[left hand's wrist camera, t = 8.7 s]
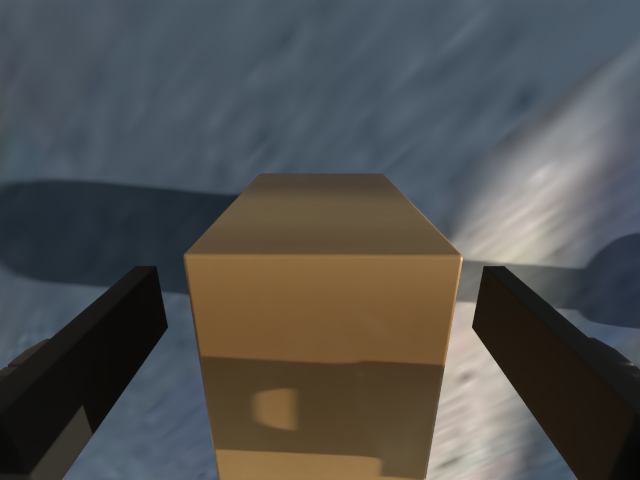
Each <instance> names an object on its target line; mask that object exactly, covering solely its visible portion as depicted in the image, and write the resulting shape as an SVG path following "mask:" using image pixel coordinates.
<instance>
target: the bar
mask: <svg viewBox="0 0 640 480" xmlns="http://www.w3.org/2000/svg"><path fill="white" fill-rule="evenodd" d="M183 259H184V265H185V272H186V278H187V284H188V291H189V297H190V303H191V309H192V316H193V322H194V328H195V335H196V341H197V347H198V354H199V360H200V366H201V373H202V379H203V385H204V392H205V398H206V404H207V411H208V417H209V423H210V430H211V436H212V442H213V449H214V455H215V461H216V467H217V474H218V480H425V479H426V474H427V468H428V462H429V456H430V450H431V444H432V438H433V432H434V426H435V420H436V414H437V409H438V403H439V397H440V391H441V385H442V379H443V373H444V367H445V361H446V355H447V349H448V343H449V338H450V332H451V326H452V320H453V314H454V308H455V302H456V296H457V290H458V284H459V278H460V273H461V267H462V261H463V257H462V254H461V253H460V252H459V251H458V250H457V249H456V248H455V247H454V246H453V245H452V244H451V243H450V242H449V241H448V240H447V239H446V238H445V237H444V236H443V235H442V234H441V233H440V232H439V231H438V230H437V229H436V228H435V226H434V225H433V224H432V223H431V222H430V221H429V220H428V219H427V218H426V217H425V216H424V215H423V214H422V213H421V212H420V211H419V210H418V209H417V208H416V207H415V206H414V205H413V204H412V203H411V202H410V201H409V200H408V199H407V198H406V197H405V196H404V195H403V193H402V192H401V191H400V190H399V189H398V188H397V187H396V186H395V185H394V184H393V183H392V182H391V181H390V180H389V179H388V178H387V177H386V176H385V175H384V174H259V175H258V176H257V177H256V179H255V180H254V181H253V182H252V183H251V184H250V185H249V186H248V187H247V188H246V189H245V190H244V191H243V192H242V193H241V194H240V195H239V197H238V198H237V199H236V200H235V201H234V202H233V203H232V204H231V205H230V206H229V207H228V208H227V209H226V210H225V211H224V212H223V214H222V215H221V216H220V217H219V218H218V219H217V220H216V221H215V222H214V223H213V224H212V225H211V226H210V227H209V228H208V229H207V231H206V232H205V233H204V234H203V235H202V236H201V237H200V238H199V239H198V240H197V241H196V242H195V243H194V244H193V245H192V246H191V247H190V249H189V250H188V251H187V252H186V253H185V254H184V257H183Z"/></svg>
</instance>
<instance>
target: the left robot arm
mask: <svg viewBox="0 0 640 480" xmlns="http://www.w3.org/2000/svg"><path fill="white" fill-rule="evenodd" d="M167 328H168V325H167V320H166V315H165V309H164V304H163V299H162V294H161V289H160V283H159V278H158V273H157V268H156V266H136V267H134V268H133V269H132V270H131V271H130V272H128V273H127V274H126V275H125V276H124V277H123V278H121V279H120V280H119V281H118V282H117V283H116V284H114V285H113V286H112V287H111V288H110V289H108V290H107V291H106V292H105V293H104V294H103V295H101V296H100V297H99V298H98V299H97V300H96V301H94V302H93V303H92V304H91V305H90V306H89V307H87V308H86V309H85V310H84V311H83V312H81V313H80V314H79V315H78V316H77V317H76V318H74V319H73V320H72V321H71V322H70V323H69V324H67V325H66V326H65V327H64V328H63V329H62V330H60V331H59V332H58V333H57V334H56V335H54V336H53V337H52V338H51V339H45V340H44V341H42V342H40V343H38V344H36V345H34V346H33V347H31V348H29V349H27V350H25V351H24V352H23V353H22V354H20V355H19V356H18V357H17V358H15V359H14V360H13V361H12V362H11V363H9V364H8V367H4V368H3V369H2V370H1V371H0V480H62V479H63V477H64V476H65V474H66V473H67V471H68V470H69V469H70V467H71V466H72V464H73V463H74V461H75V460H76V459H77V457H78V456H79V454H80V453H81V451H82V450H83V449H84V447H85V446H86V444H87V443H88V441H89V440H90V439H91V437H92V436H93V434H94V433H95V431H96V430H97V428H98V427H99V426H100V424H101V423H102V421H103V420H104V418H105V417H106V416H107V414H108V413H109V411H110V410H111V408H112V407H113V406H114V404H115V403H116V401H117V400H118V398H119V397H120V396H121V394H122V393H123V391H124V390H125V388H126V387H127V385H128V384H129V383H130V381H131V380H132V378H133V377H134V375H135V374H136V373H137V371H138V370H139V368H140V367H141V365H142V364H143V363H144V361H145V360H146V358H147V357H148V355H149V354H150V352H151V351H152V350H153V348H154V347H155V345H156V344H157V342H158V341H159V340H160V338H161V337H162V335H163V334H164V332H165V331H166V330H167ZM472 328H473V330H474V331H475V332H476V334H477V335H478V337H479V338H480V340H481V341H482V342H483V344H484V345H485V347H486V348H487V350H488V351H489V353H490V354H491V355H492V357H493V358H494V360H495V361H496V363H497V364H498V365H499V367H500V368H501V370H502V371H503V373H504V374H505V375H506V377H507V378H508V380H509V381H510V383H511V384H512V385H513V387H514V388H515V390H516V391H517V393H518V394H519V396H520V397H521V398H522V400H523V401H524V403H525V404H526V406H527V407H528V408H529V410H530V411H531V413H532V414H533V416H534V417H535V418H536V420H537V421H538V423H539V424H540V426H541V427H542V428H543V430H544V431H545V433H546V434H547V436H548V437H549V439H550V440H551V441H552V443H553V444H554V446H555V447H556V449H557V450H558V451H559V453H560V454H561V456H562V457H563V459H564V460H565V461H566V463H567V464H568V466H569V467H570V469H571V470H572V472H573V473H574V474H575V476H576V477H577V479H578V480H640V369H639V368H638V367H636V366H633V365H632V363H631V362H630V361H629V360H628V359H627V358H625V357H624V356H623V355H622V354H620V353H619V352H618V351H617V350H615V349H614V348H612V347H610V346H608V345H606V344H604V343H603V342H601V341H599V340H597V339H595V338H588V337H587V336H586V335H584V334H583V333H582V332H581V331H580V330H578V329H577V328H576V327H575V326H574V325H573V324H571V323H570V322H569V321H568V320H567V319H566V318H564V317H563V316H562V315H561V314H560V313H559V312H557V311H556V310H555V309H554V308H553V307H551V306H550V305H549V304H548V303H547V302H546V301H544V300H543V299H542V298H541V297H540V296H539V295H537V294H536V293H535V292H534V291H533V290H531V289H530V288H529V287H528V286H527V285H526V284H524V283H523V282H522V281H521V280H520V279H519V278H517V277H516V276H515V275H514V274H513V273H512V272H510V271H509V270H508V269H507V268H506V267H504V266H484V268H483V273H482V278H481V283H480V289H479V294H478V299H477V304H476V309H475V314H474V320H473V325H472Z"/></svg>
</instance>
